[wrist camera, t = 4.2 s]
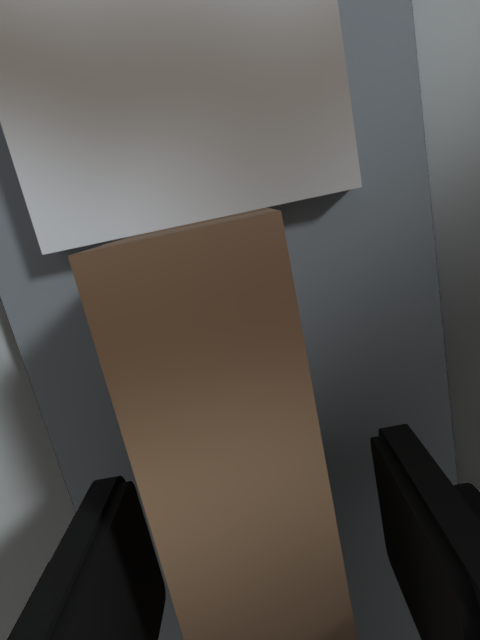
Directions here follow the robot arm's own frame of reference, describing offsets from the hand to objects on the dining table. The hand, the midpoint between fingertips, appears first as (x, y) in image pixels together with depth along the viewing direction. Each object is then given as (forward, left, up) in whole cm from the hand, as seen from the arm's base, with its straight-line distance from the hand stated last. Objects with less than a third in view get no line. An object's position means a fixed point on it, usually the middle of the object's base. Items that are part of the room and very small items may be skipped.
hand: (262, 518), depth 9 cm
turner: (-2, 0, -1) cm, 2 cm away
